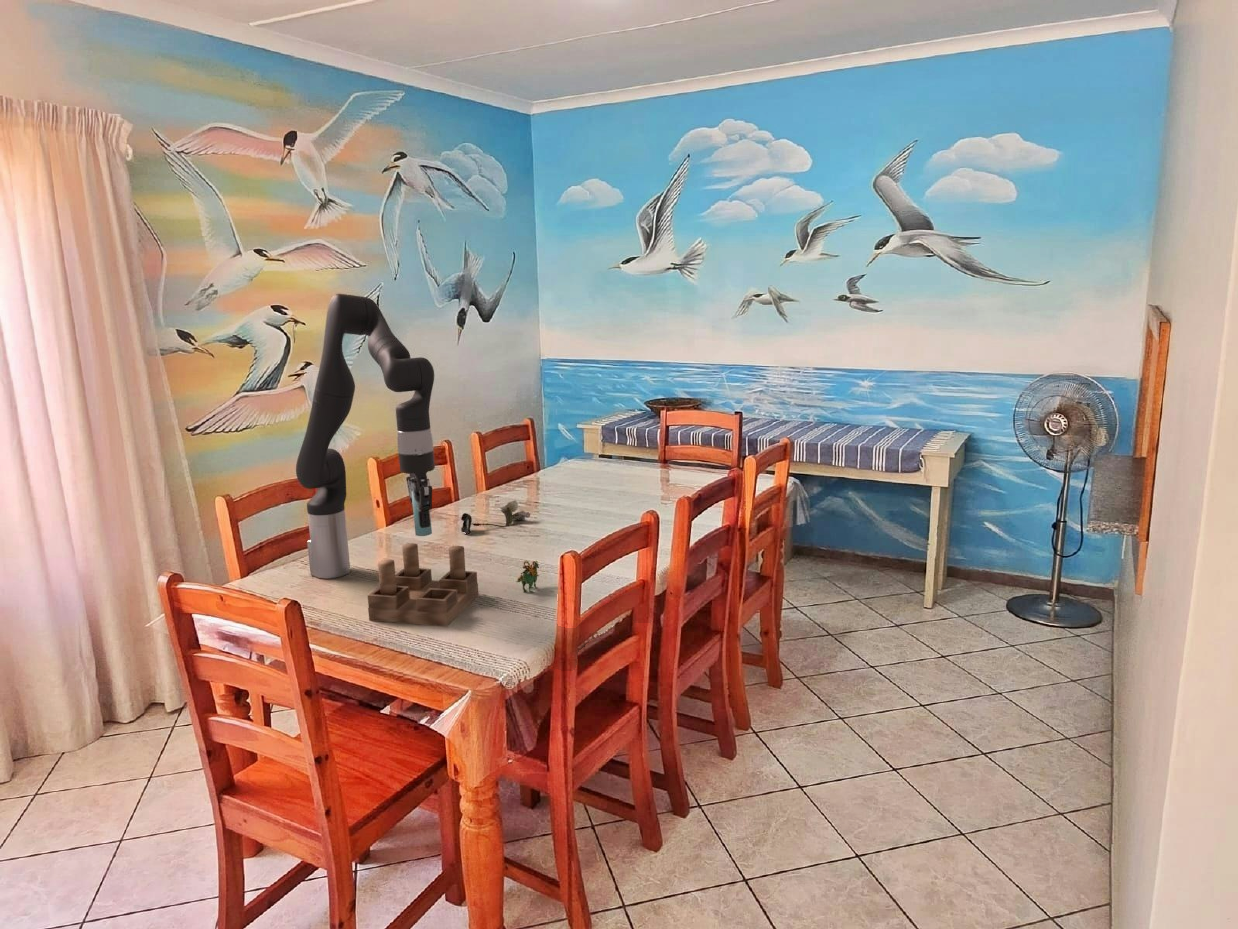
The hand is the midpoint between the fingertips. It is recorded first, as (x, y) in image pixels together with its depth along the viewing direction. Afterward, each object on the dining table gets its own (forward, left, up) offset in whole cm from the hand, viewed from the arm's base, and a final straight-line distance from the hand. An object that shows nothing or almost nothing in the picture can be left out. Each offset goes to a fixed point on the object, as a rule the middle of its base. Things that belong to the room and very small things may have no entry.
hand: (422, 524), depth 183 cm
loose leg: (0, 0, -2) cm, 2 cm away
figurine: (+18, +19, -22) cm, 34 cm away
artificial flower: (-10, +70, -23) cm, 74 cm away
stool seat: (-3, +5, -22) cm, 23 cm away
